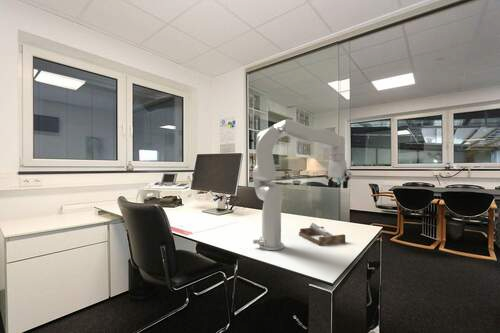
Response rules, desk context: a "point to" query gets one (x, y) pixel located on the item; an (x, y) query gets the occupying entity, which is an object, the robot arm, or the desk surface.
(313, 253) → the desk surface
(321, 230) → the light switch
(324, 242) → the walnut open frame
